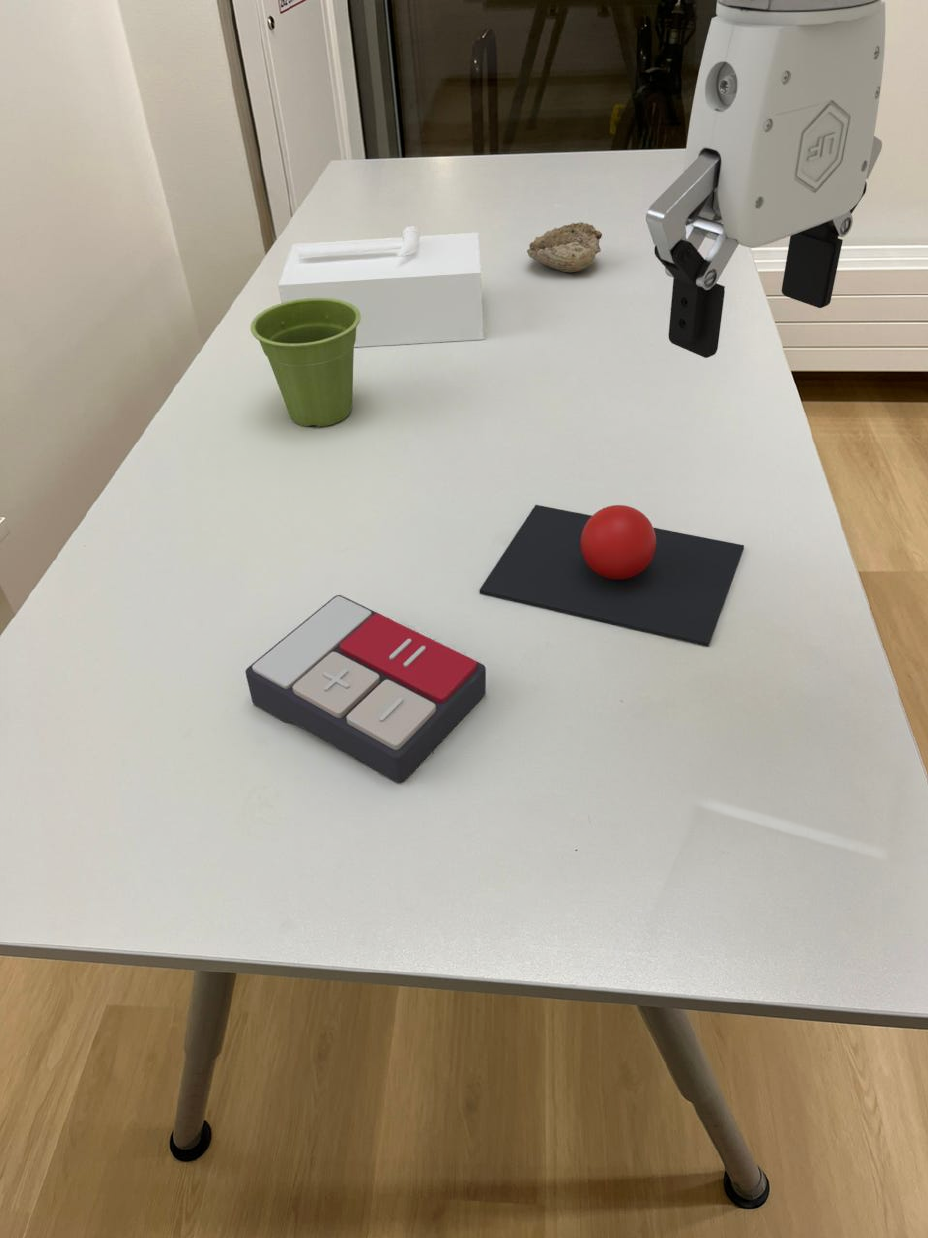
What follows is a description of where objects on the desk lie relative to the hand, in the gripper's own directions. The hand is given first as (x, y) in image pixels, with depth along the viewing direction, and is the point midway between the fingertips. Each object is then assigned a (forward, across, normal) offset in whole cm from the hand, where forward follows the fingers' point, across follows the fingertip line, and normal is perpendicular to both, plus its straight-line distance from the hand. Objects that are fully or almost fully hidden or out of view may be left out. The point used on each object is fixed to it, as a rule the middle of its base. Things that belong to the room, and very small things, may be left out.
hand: (750, 323), depth 56 cm
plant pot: (+28, -2, +57) cm, 64 cm away
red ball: (+25, +3, +13) cm, 28 cm away
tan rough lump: (+28, +48, +71) cm, 90 cm away
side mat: (+28, +4, +14) cm, 32 cm away
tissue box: (+28, +18, +73) cm, 80 cm away
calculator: (+28, -22, +14) cm, 39 cm away
